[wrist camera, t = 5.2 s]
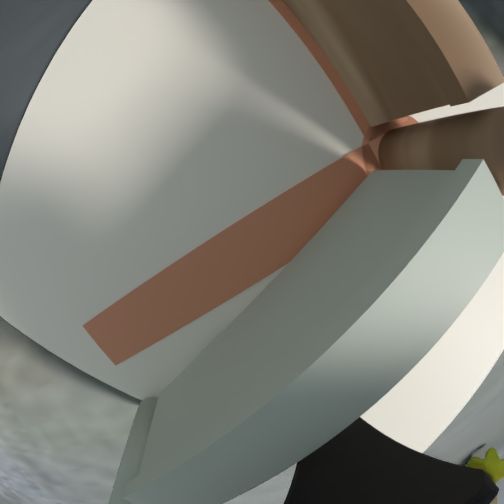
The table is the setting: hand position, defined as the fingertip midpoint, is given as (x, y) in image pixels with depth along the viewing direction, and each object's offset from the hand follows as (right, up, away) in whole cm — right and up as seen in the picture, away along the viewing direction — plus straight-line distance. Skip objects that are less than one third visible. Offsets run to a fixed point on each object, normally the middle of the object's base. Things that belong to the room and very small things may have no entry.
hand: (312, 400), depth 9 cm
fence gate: (-2, +3, 0) cm, 3 cm away
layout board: (+2, +6, +1) cm, 7 cm away
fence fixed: (0, +14, -2) cm, 14 cm away
